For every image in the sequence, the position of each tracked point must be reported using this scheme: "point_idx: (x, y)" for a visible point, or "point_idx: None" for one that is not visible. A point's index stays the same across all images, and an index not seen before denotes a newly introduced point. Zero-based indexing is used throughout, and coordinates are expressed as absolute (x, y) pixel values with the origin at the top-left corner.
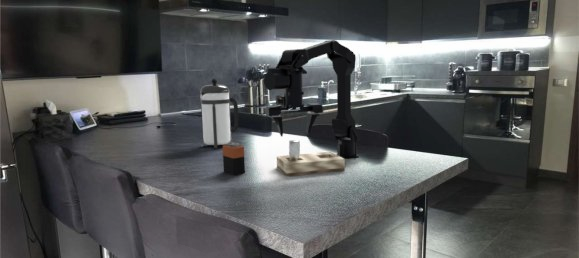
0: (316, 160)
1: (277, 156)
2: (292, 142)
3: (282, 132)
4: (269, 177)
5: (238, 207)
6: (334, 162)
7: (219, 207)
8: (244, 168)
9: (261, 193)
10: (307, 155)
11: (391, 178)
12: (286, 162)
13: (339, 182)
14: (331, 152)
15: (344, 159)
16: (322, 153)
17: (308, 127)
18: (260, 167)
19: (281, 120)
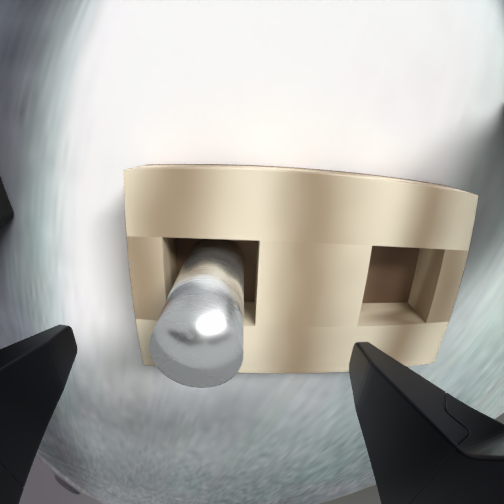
0: (311, 358)
1: (127, 177)
2: (170, 376)
3: (61, 386)
4: (92, 314)
5: (50, 449)
6: None
7: None
8: (2, 221)
9: (77, 423)
10: (325, 228)
11: None
12: (148, 338)
13: (309, 434)
14: (473, 216)
15: (432, 361)
16: (428, 216)
17: (368, 433)
18: (77, 133)
19: (12, 502)
